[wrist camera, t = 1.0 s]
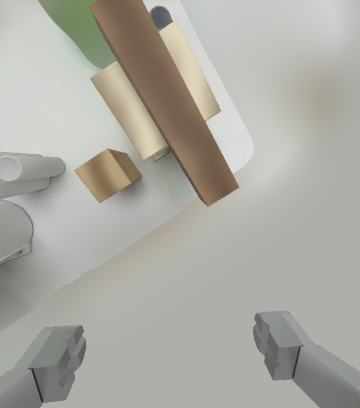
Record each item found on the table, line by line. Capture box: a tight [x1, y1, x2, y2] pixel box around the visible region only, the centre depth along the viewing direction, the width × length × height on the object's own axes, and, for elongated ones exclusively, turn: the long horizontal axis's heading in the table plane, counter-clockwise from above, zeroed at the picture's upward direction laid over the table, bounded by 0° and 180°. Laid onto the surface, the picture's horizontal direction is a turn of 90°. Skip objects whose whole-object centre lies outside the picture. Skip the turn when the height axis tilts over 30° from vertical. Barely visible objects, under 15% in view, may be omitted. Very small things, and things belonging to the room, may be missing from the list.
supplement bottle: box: [149, 6, 173, 32], centre depth 35 cm, size 6×6×11 cm
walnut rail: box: [89, 0, 239, 206], centre depth 18 cm, size 4×20×4 cm, turn 32°
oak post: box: [74, 149, 142, 203], centre depth 38 cm, size 7×7×16 cm
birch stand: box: [90, 19, 221, 161], centre depth 32 cm, size 11×10×26 cm
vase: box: [0, 152, 65, 199], centre depth 34 cm, size 11×7×20 cm, turn 131°
